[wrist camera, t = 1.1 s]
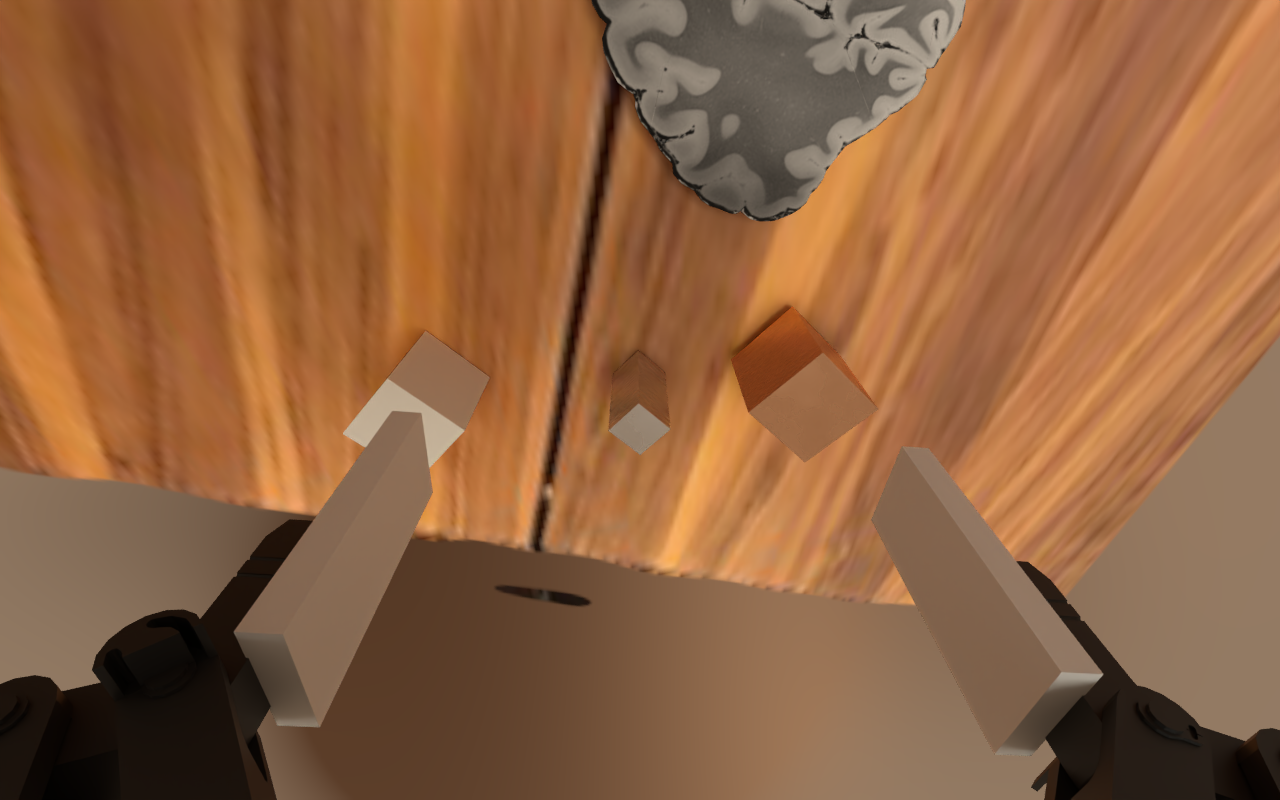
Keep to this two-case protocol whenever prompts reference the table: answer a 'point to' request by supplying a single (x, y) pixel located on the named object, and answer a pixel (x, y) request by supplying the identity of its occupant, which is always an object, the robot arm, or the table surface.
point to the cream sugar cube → (425, 396)
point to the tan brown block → (800, 386)
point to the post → (639, 403)
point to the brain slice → (769, 85)
